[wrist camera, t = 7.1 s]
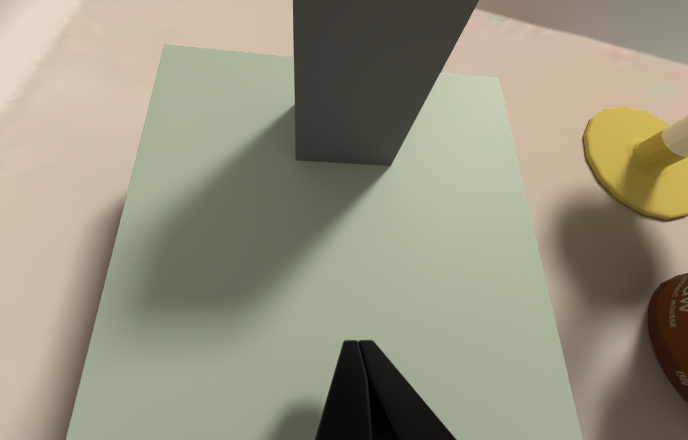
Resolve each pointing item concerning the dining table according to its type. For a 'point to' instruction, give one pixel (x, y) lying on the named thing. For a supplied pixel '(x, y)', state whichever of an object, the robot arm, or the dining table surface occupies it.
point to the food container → (671, 330)
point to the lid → (325, 241)
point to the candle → (640, 160)
